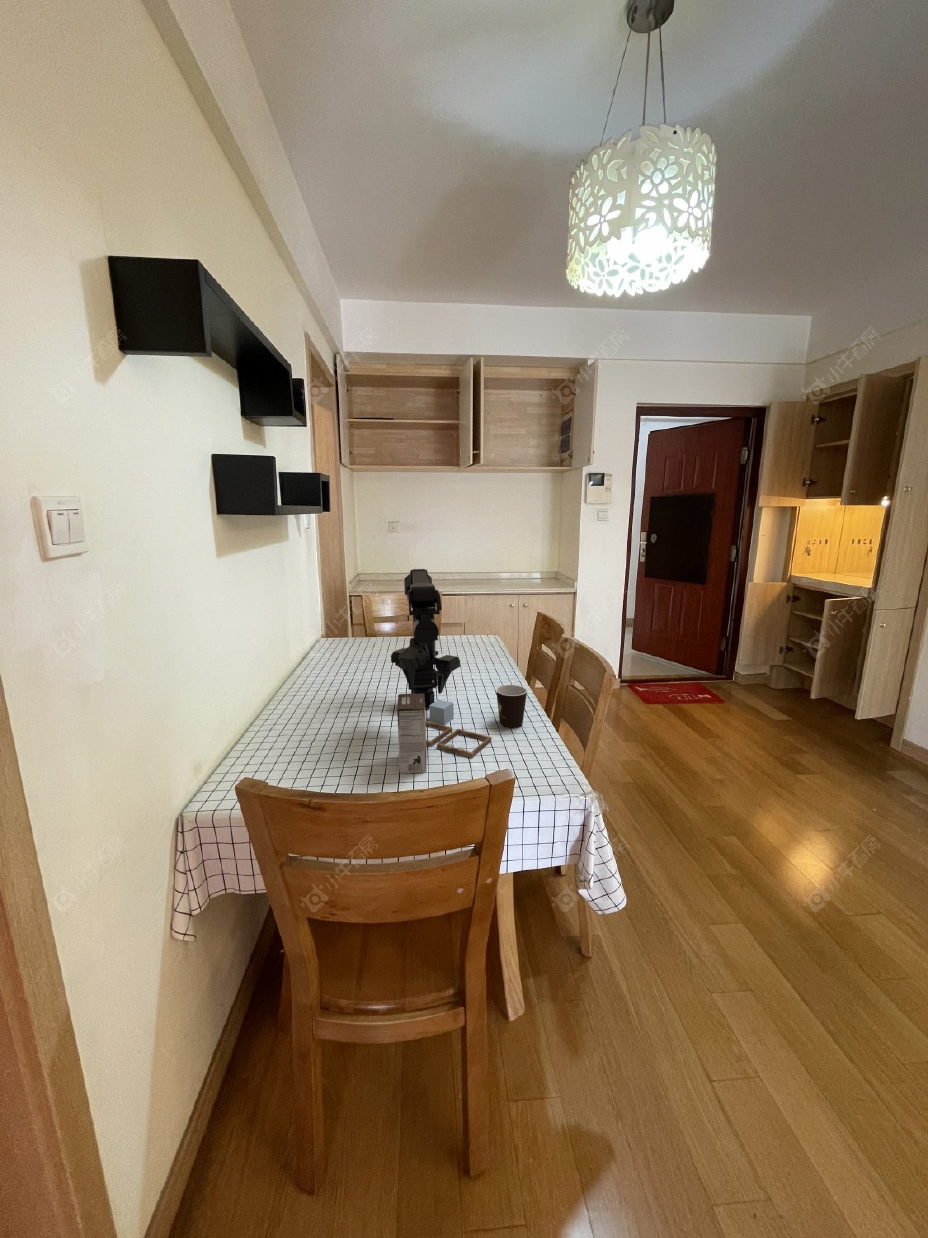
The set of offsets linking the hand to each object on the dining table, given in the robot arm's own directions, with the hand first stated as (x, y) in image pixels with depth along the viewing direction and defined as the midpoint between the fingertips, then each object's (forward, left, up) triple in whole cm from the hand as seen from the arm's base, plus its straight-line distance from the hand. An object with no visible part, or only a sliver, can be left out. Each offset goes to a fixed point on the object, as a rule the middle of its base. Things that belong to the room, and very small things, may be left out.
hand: (425, 690), depth 129 cm
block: (-1, +9, -12) cm, 15 cm away
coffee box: (+7, -15, -12) cm, 21 cm away
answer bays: (+6, -1, -12) cm, 14 cm away
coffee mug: (+17, +18, -12) cm, 28 cm away
